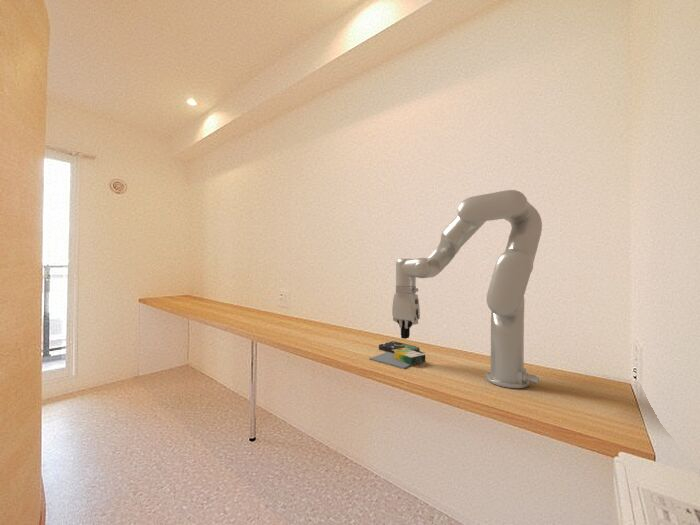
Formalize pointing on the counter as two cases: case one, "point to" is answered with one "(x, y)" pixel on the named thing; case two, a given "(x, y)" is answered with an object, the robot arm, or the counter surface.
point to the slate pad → (390, 360)
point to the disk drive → (396, 347)
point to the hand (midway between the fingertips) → (405, 337)
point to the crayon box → (409, 356)
